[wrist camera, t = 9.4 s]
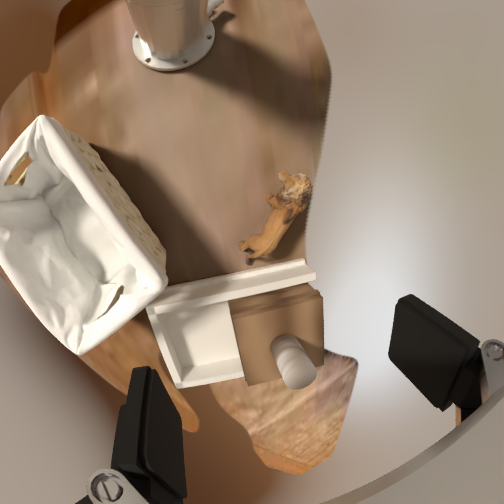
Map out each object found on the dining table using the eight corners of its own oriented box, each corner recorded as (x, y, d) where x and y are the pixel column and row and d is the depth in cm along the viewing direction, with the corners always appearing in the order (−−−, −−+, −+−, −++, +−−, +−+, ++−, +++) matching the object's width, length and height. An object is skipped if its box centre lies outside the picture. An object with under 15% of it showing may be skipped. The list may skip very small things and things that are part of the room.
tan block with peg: (238, 356, 44) (257, 421, 30) (224, 293, 40) (241, 351, 26) (306, 338, 46) (344, 393, 32) (302, 275, 42) (349, 320, 28)
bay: (178, 373, 44) (178, 391, 40) (149, 289, 39) (144, 303, 35) (308, 343, 48) (319, 358, 43) (302, 258, 43) (315, 267, 38)
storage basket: (24, 197, 31) (-33, 209, 17) (90, 126, 31) (42, 105, 17) (107, 310, 39) (77, 363, 25) (180, 251, 39) (172, 290, 25)
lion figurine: (269, 166, 38) (289, 163, 30) (300, 181, 40) (327, 182, 31) (231, 258, 41) (241, 279, 32) (263, 269, 42) (280, 292, 34)
